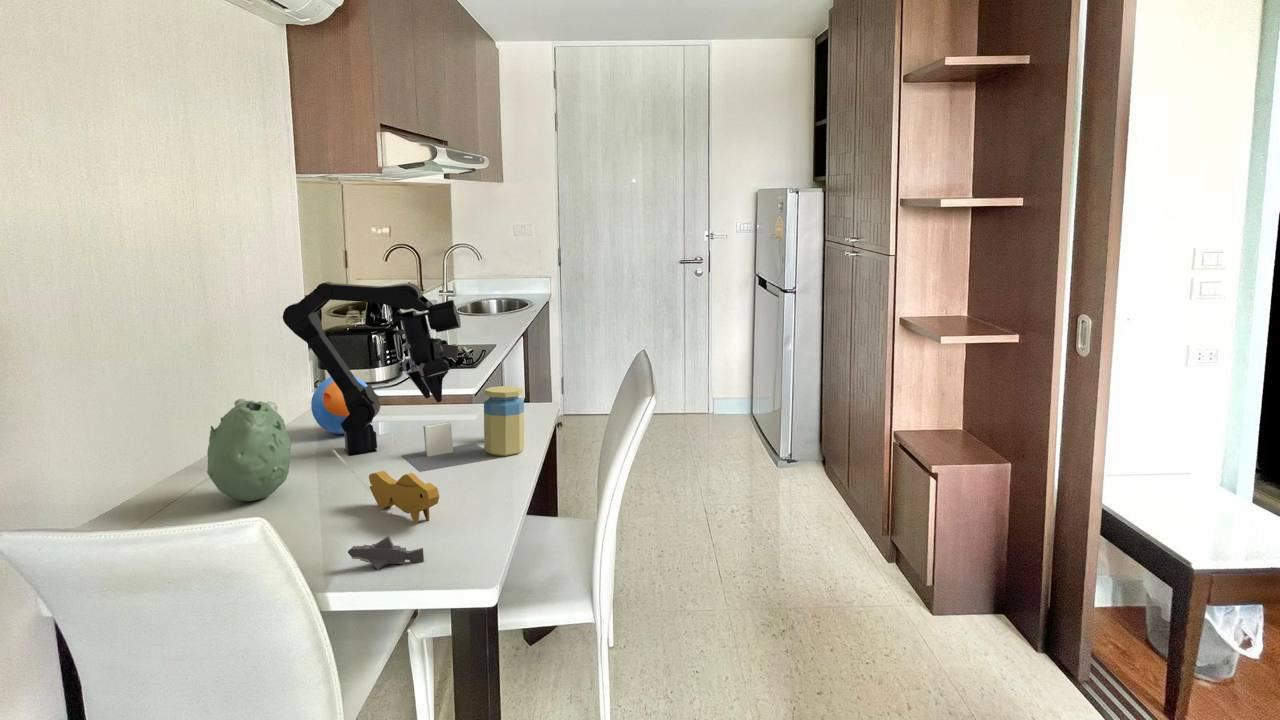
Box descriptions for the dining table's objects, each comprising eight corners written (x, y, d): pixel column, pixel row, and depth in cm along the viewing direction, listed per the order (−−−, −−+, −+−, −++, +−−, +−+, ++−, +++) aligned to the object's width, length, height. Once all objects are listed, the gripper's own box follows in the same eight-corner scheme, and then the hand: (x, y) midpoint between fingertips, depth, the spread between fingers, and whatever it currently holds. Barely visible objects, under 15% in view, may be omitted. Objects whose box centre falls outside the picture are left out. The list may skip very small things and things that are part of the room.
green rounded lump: (199, 517, 168) (186, 415, 165) (226, 487, 186) (216, 395, 183) (285, 510, 171) (274, 409, 167) (304, 481, 189) (295, 390, 186)
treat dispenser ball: (373, 423, 240) (368, 367, 237) (379, 436, 226) (374, 377, 223) (313, 430, 234) (307, 373, 232) (315, 443, 220) (309, 383, 218)
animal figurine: (423, 564, 146) (427, 534, 145) (421, 574, 141) (425, 544, 141) (348, 558, 143) (351, 528, 143) (344, 569, 139) (347, 538, 138)
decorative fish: (446, 520, 158) (436, 466, 158) (431, 525, 156) (420, 470, 156) (389, 520, 174) (379, 470, 174) (374, 524, 172) (364, 474, 172)
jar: (526, 456, 202) (525, 392, 200) (485, 458, 200) (484, 393, 198) (522, 447, 211) (521, 385, 209) (483, 448, 209) (482, 386, 207)
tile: (427, 456, 204) (425, 427, 203) (425, 454, 205) (423, 425, 204) (453, 452, 207) (450, 423, 205) (450, 450, 208) (448, 421, 207)
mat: (420, 473, 192) (419, 471, 192) (400, 456, 206) (400, 455, 205) (498, 459, 201) (498, 458, 200) (474, 444, 214) (474, 443, 214)
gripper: (462, 329, 203) (478, 394, 206) (438, 327, 219) (453, 387, 222) (416, 341, 198) (432, 407, 201) (394, 338, 214) (410, 399, 217)
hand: (433, 399), depth 210 cm, fingers open, 9 cm apart
